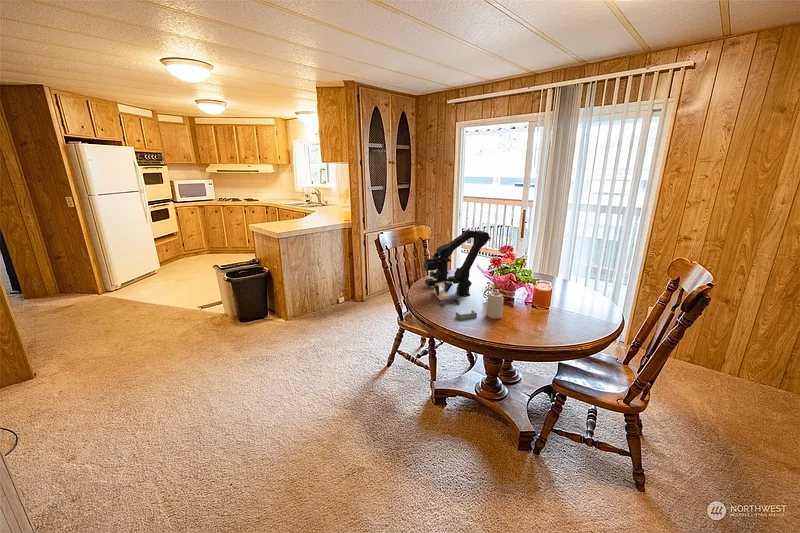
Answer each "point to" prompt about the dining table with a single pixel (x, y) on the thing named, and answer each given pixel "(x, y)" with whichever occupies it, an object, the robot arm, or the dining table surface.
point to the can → (495, 305)
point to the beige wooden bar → (442, 293)
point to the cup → (434, 278)
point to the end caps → (458, 316)
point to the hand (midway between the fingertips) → (441, 295)
